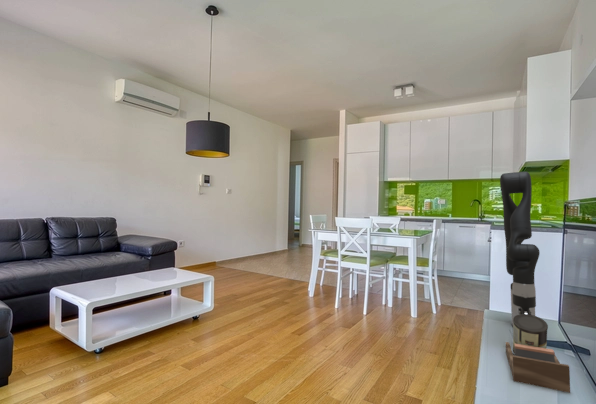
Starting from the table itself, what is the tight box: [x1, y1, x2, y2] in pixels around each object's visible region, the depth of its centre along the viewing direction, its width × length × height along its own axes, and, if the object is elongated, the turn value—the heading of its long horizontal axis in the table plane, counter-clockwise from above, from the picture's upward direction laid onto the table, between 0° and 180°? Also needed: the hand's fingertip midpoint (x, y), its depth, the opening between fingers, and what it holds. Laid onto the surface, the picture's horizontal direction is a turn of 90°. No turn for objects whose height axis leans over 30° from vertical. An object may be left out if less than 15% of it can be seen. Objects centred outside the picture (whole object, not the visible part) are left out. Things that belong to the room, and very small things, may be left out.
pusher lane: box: [505, 341, 571, 393], centre depth 109 cm, size 23×14×8 cm, turn 152°
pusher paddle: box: [514, 343, 556, 363], centre depth 108 cm, size 2×11×8 cm, turn 62°
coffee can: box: [512, 314, 549, 355], centre depth 115 cm, size 10×10×14 cm
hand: (524, 336), depth 124 cm, fingers closed
